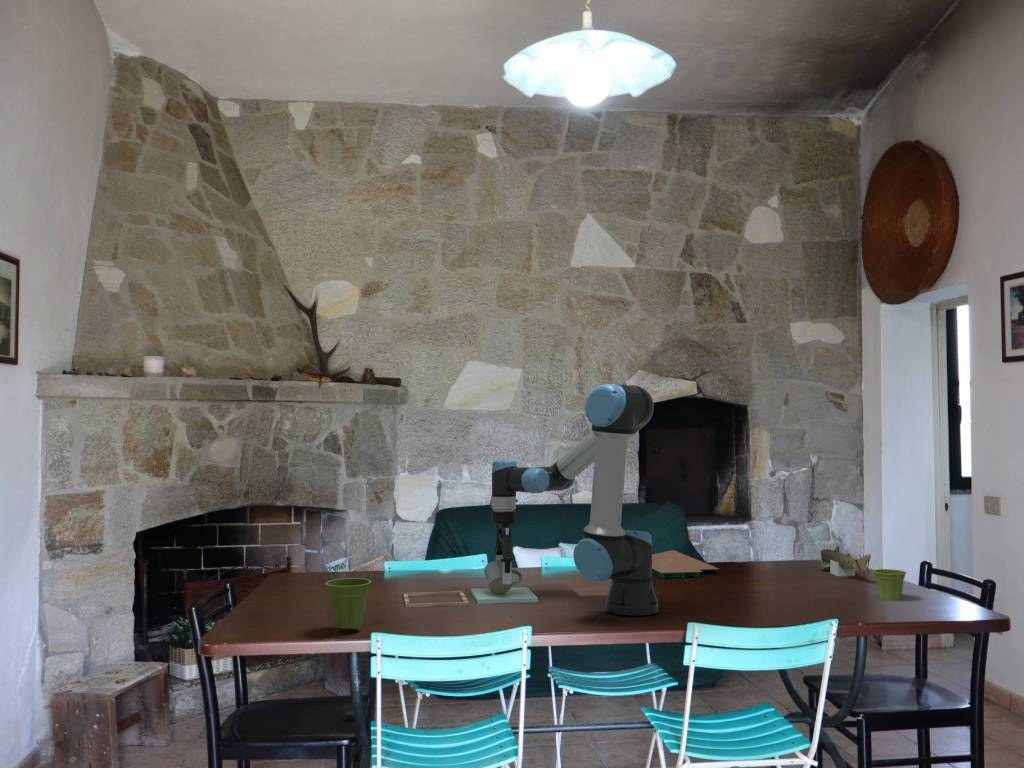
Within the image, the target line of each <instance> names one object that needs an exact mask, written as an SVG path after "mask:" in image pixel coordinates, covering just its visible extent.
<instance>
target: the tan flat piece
mask: <svg viewBox="0 0 1024 768" xmlns="http://www.w3.org/2000/svg"><path fill="white" fill-rule="evenodd" d="M719 569H720V568H719V567H716V566H714V565H712V564H709V563H706V562H704V561H701V560H699V559H696V558H694V557H691V556H689V555H687V554H684V553H681V552H679V551H676V550H674V549H672V550H666V551H663V552H658V553H654V554H653V553H652V575H653V574H654V575H655V576H657V577H660V578H661V577H662V579H665V576H667V575H668V574H669V575H670V576H669V578H670V579H671V578H680V577H681V579H682V578H685V577H686V578H687V577H688V576H687V575H688V573H691V575H694V576H695V577H697V578H700V573H702V572H705V571H706V572H707V571H708V572H709V571H710V570H719ZM676 574H677V575H676ZM671 575H672V576H671Z"/></svg>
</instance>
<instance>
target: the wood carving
mask: <svg viewBox="0 0 1024 768" xmlns="http://www.w3.org/2000/svg"><path fill="white" fill-rule="evenodd" d="M840 547H841V546H840V545H836V546H835V549H828V548H827V549H826V548H824V549H821V550H820V555H821V556H820V558H821V559H820V560H821V561H820V562H821V566H820V569H822V570H823V569H825V568H829V570H830V573H829V574H832V575H834V576H837V577H855V576H856V572H858V573H862V574H864V575H865V574H866V575H867V574H869V565H870V562H871V561H870V560H871V559H872V558H871V557H872V555H871V553H868V554H864V555H863V556H861V557H860V558H859V559H857V558H854V557H852V556H851V553H847V554H845V553H841V552H840Z"/></svg>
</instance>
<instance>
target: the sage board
mask: <svg viewBox="0 0 1024 768" xmlns="http://www.w3.org/2000/svg"><path fill="white" fill-rule="evenodd" d="M470 594H471V596H472V597H473V598H474V600H475V602H476V604H477V605H481V604H484V605H486V604H487V605H488V604H519V603H520V604H521V603H523V604H524V603H538V602H539V599H538V597H537V595H535V594H534V593H533V591H532V590H530V588H529V587H527V586H526V587H524V586H523V587H511V588H510V590H509V591H508V592H506V593H504V594H494V593H492V592H491V590H490V589H489V587H488V588H487V587H486V588H470Z"/></svg>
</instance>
